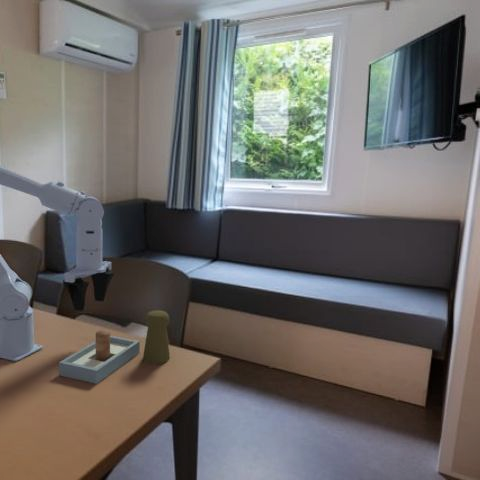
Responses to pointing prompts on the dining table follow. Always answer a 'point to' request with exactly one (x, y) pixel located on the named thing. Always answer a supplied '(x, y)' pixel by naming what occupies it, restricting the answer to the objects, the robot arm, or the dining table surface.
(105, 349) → the peg
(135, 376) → the dining table surface
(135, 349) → the box
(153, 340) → the cork
